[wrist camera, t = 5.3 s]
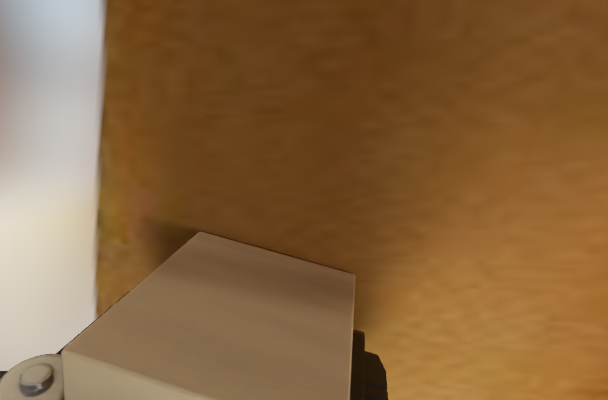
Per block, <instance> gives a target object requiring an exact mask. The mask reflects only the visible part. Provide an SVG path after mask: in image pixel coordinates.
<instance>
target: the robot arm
mask: <svg viewBox="0 0 608 400" xmlns="http://www.w3.org/2000/svg"><path fill="white" fill-rule="evenodd" d="M129 292H130V291H129ZM126 294H127V293H126ZM126 294H125V295H126ZM125 295H124V296H125ZM124 296H123V297H124ZM123 297H122V298H123ZM119 300H120V299H119ZM119 300H118V301H119ZM118 301H117V302H118ZM117 302H116V303H117ZM116 303H115V304H116ZM112 306H113V305H112ZM112 306H111V307H112ZM111 307H110V308H111ZM110 308H109V309H110ZM109 309H108V310H109ZM105 312H106V311H105ZM105 312H104V313H105ZM101 316H102V315H101ZM98 318H99V317H98ZM98 318H97V319H98ZM97 319H96V320H97ZM96 320H95V321H96ZM95 321H94V322H95ZM94 322H93V323H94ZM91 324H92V323H91ZM91 324H90V325H91ZM90 325H89V326H90ZM89 326H88V327H89ZM88 327H87V328H88ZM87 328H86V329H87ZM84 330H85V329H84ZM84 330H83V331H84ZM83 331H82V332H83ZM82 332H81V333H82ZM81 333H80V334H81ZM80 334H79V335H80ZM77 336H78V335H77ZM75 338H76V337H75ZM75 338H74V339H75ZM74 339H73V340H74ZM73 340H72V341H73ZM70 342H71V341H70ZM70 342H69V343H70ZM69 343H68V344H69ZM68 344H67V345H68ZM67 345H66V346H67ZM66 346H65V347H66ZM63 348H64V347H63ZM63 348H62V349H61V350H60V351H59V352H58V353H56V354H46V355H40V356H36V357H33V358H30V359H28V360H25V361H23V362H21V363H19V364H18V365H16V366H15V367H13V368H12V369H10V370H9V371H0V400H64V387H63V373H62V360H61V351H62V350H63ZM350 400H388V394H387V381H386V371H385V369H384V367H383V365H382V363H381V361H380V359H379V356H378V355H376V354H372V353H369V352H366V351H365V336H364V332H361V331H358V330H354V329H353V341H352V362H351V383H350Z"/></svg>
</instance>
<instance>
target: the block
mask: <svg viewBox="0 0 608 400" xmlns="http://www.w3.org/2000/svg"><path fill="white" fill-rule="evenodd" d="M354 298H355V275H354V274H351V273H347V272H344V271H340V270H337V269H333V268H329V267H326V266H322V265H319V264H315V263H312V262H308V261H304V260H301V259H297V258H294V257H290V256H287V255H283V254H279V253H276V252H272V251H269V250H265V249H262V248H258V247H254V246H251V245H247V244H244V243H240V242H237V241H233V240H229V239H226V238H222V237H219V236H215V235H212V234H208V233H204V232H198V233H197V234H196V235H195V236H194V237H192V238H191V239H190V240H189V241H188V242H187V243H185V244H184V245H183V246H182V247H181V248H180V249H178V250H177V251H176V252H175V253H174V254H173V255H171V256H170V257H169V258H168V259H167V260H166V261H164V262H163V263H162V264H161V265H160V266H159V267H158V268H156V269H155V270H154V271H153V272H152V273H151V274H149V275H148V276H147V277H146V278H145V279H144V280H142V281H141V282H140V283H139V284H138V285H137V286H135V287H134V288H133V289H132V290H131V291H130V292H128V293H127V294H126V295H125V296H124V297H123V298H121V299H120V300H119V301H118V302H117V303H116V304H114V305H113V306H112V307H111V308H110V309H109V310H107V311H106V312H105V313H104V314H103V315H102V316H100V317H99V318H98V319H97V320H96V321H95V322H94V323H92V324H91V325H90V326H89V327H88V328H87V329H85V330H84V331H83V332H82V333H81V334H80V335H78V336H77V337H76V338H75V339H74V340H73V341H71V342H70V343H69V344H68V345H67V346H66V347H64V348H63V350H62V351H61V360H62V373H63V387H64V400H350V383H351V362H352V341H353V319H354Z"/></svg>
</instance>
